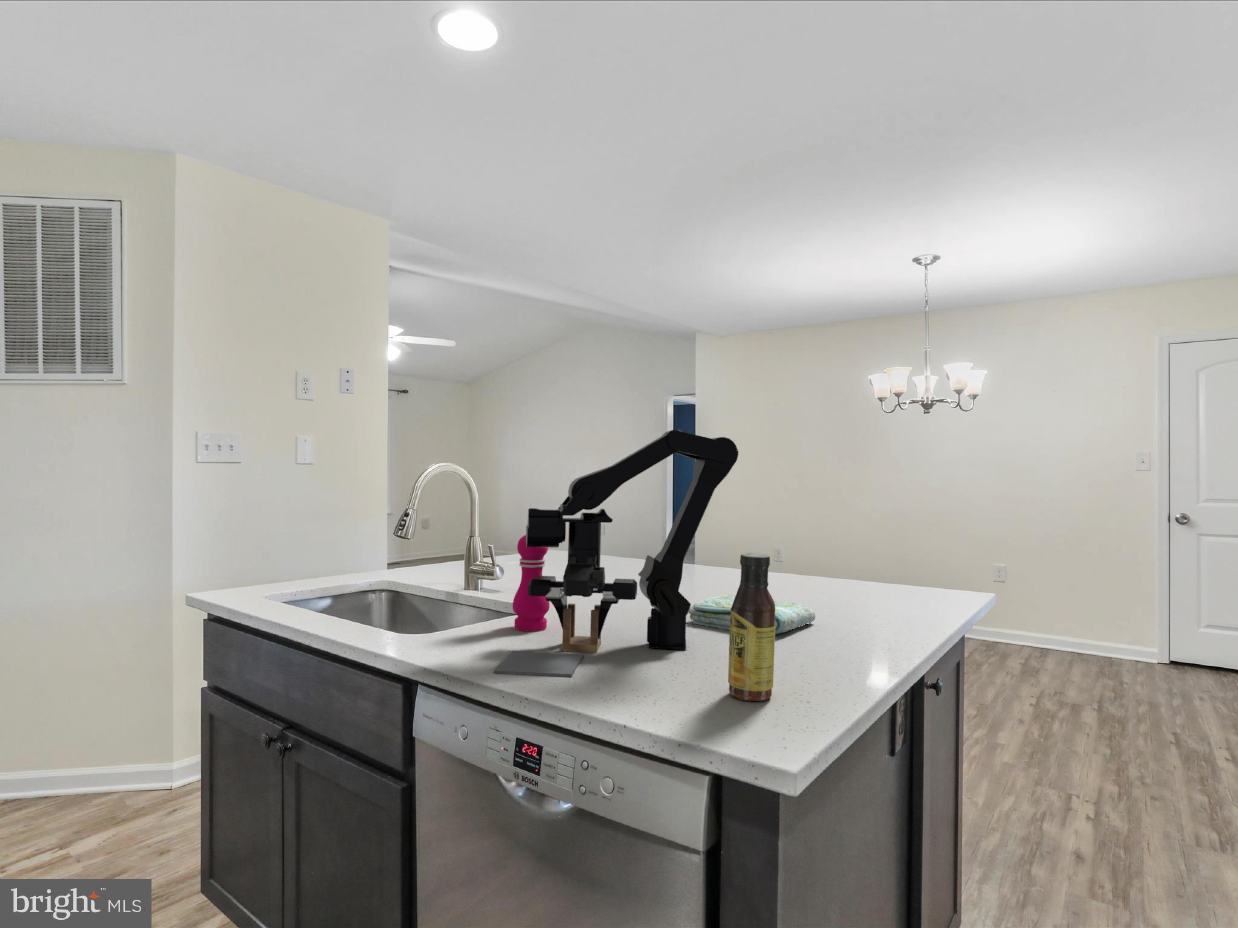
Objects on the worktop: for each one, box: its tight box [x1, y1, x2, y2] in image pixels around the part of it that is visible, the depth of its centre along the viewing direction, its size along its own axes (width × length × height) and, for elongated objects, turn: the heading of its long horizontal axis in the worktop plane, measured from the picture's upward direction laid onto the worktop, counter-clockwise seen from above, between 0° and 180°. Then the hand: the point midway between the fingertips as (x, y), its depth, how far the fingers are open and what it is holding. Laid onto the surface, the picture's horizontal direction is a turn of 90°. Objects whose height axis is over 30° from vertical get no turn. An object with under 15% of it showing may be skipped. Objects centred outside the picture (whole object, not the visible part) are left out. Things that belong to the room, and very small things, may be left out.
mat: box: [493, 650, 584, 678], centre depth 111 cm, size 12×12×1 cm
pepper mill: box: [512, 534, 550, 632], centre depth 137 cm, size 7×7×20 cm
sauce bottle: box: [727, 552, 776, 702], centre depth 97 cm, size 6×6×20 cm
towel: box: [688, 594, 816, 635], centre depth 146 cm, size 18×21×5 cm
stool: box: [561, 603, 602, 653], centre depth 122 cm, size 6×6×7 cm
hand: (582, 636), depth 122 cm, fingers closed on stool, 5 cm apart
